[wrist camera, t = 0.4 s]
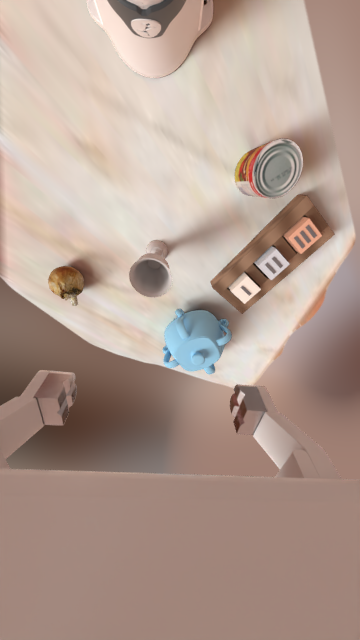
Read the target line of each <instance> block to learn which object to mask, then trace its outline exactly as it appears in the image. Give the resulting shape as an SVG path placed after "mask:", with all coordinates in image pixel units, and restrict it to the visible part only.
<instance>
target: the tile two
mask: <svg viewBox="0 0 360 640" xmlns="http://www.w3.org/2000/svg"><path fill="white" fill-rule="evenodd" d="M254 263H255V264H256V265H257V266H258V267H259V268H260V270H261V271H262V272H263V273H264V274H265V275H266V276H267V277H268V278H269V279H270V280H272V279H274V278H275V277H276V276H277V275H278V274H279V273H280V272H282V271H283V270H284V269H285V268H286V267H287V266H288V265H290V264H289V263H288V262H287V260H286V259H285V258H284V257H283V256H282V255H281V254H280V252H279V251H278V250H277V249H276V248H274V247H272V246H271V247H270V248H269V249H268V250H267V251H266V252H264V253H263V254H262V255H261V256H260V257H259V258H258V259H257V260H256V261H255V262H254Z"/></svg>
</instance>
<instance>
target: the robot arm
mask: <svg viewBox="0 0 360 640" xmlns="http://www.w3.org/2000/svg"><path fill="white" fill-rule="evenodd" d="M206 1H207V4H206V5H203V4H204V0H87V7H88V10H89V13H90V15H91V17H92V18H93V20H94V21H95V22H96V23H97V24H98V25H99V26H100V27H101V28H102V29H103V30H104V31H105V32H106V33H107V35H108V36H109V38H110V40H111V42H112V44H113V46H114V48H115V50H116V51H117V53H118V54H119V56H120V57H121V59H122V60H123V61H124V62H125V64H126V65H127V66H128V67H130V68H131V69H132V70H133V71H135V72H136V73H138V74H140V75H142V76H145V77H149V78H160V77H164V76H166V75H169V74H170V73H172V72H173V71H175V70H176V69H177V68H178V67H179V66H180V65H181V64H182V63H183V61H184V60H185V59H186V57H187V55H188V54H189V52H190V50H191V48H192V46H193V44H194V42H195V40H196V39H197V37H199V36H200V35H201V34H202V33H203V32H204V31H205V30H206V29H207V28H208V27H209V26H210V24H211V22H212V19H213V0H206ZM74 380H75V375H74V373H69V372H59V371H46V370H40V371H39V372H37V374H36V375H35V377H34V378H33V380H32V381H31V382H30V384H29V385H28V386H27V388H26V389H25V391H24V392H23V393H22V395H21V396H20V397H15V398H13V399H12V400H10V401H8V402H7V403H5V404H3V405H1V406H0V640H360V480H350V479H341V477H340V475H339V474H338V472H337V470H336V468H335V467H334V465H333V463H332V462H331V460H330V458H329V456H328V455H327V453H326V451H325V450H324V449H323V448H322V447H321V446H319V445H318V444H317V443H316V442H315V441H313V440H312V439H311V438H310V437H309V436H308V435H306V434H305V433H304V432H303V431H302V430H300V429H299V428H298V427H297V426H296V425H295V424H293V423H292V422H291V421H290V420H288V418H286V417H285V416H284V415H283V414H282V413H278V411H277V409H276V407H275V405H274V403H273V401H272V399H271V396H270V395H269V392H268V390H267V388H266V387H265V386H253V385H236V386H235V388H234V391H235V393H234V394H233V395H232V396H231V399H230V410H231V414H232V415H233V416H234V417H235V419H234V426H235V429H236V433H237V434H244V435H253V437H254V438H255V439H256V440H257V442H258V443H259V444H260V445H261V446H262V448H263V449H264V450H265V451H266V452H267V454H268V455H269V456H270V457H271V459H272V460H273V461H274V463H275V464H276V465H277V466H278V468H279V469H280V471H279V472H278V474H277V475H276V476H275V477H254V476H250V477H249V476H222V475H191V474H158V473H125V472H122V473H121V472H93V471H92V472H91V471H62V470H30V469H28V470H27V469H10V468H9V466H8V464H7V462H6V460H5V459H6V458H7V457H9V456H10V455H11V454H12V453H13V452H14V451H16V449H18V448H19V447H20V446H21V445H22V444H24V443H25V442H26V441H27V440H28V439H29V438H31V437H32V436H33V435H34V434H35V433H36V432H37V431H39V430H40V429H41V428H42V427H43V426H44V425H64V423H65V420H66V418H67V416H68V414H69V410H68V408H69V407H70V406H71V405H73V403H74V400H75V397H76V392H77V388H76V384H75V383H74Z"/></svg>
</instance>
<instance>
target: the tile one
mask: <svg viewBox="0 0 360 640" xmlns="http://www.w3.org/2000/svg"><path fill="white" fill-rule="evenodd" d="M229 289H230V291H231V292H232V293H233V294H234V295H235V296H236V297H237V298H239V299H240V300H241V301H242V302H243V303H244V304H245V303H246V302H247V301H249V300H250V299H251V298H252V297H253V296H254V295H255V294H257V293H258V292H259V291H260V290H261V289H260V288H259V286H258V285H257V284H256V283H255V282H254V281H253V280H252V279H251V278H250V277H249V276H248V275H247V274H246V273H245V272H243V273H242V274H241V275H240V276H239V277H238V278H237V279H236V280H235V281H234V282H233V283H232V284H231V285H230V286H229Z"/></svg>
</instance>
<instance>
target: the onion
mask: <svg viewBox="0 0 360 640" xmlns="http://www.w3.org/2000/svg"><path fill="white" fill-rule="evenodd" d="M48 283H49V287H50V289H51V291H52V292H53V293H55V294H56V295H58V296H60V297H61V298H62V299H64V298H66V300H67V299H69V298H70V300H71V302H72V305H73V306H76V305H77V304H78V302H77V295H79V294H80V293H81V292H82V291H83V287H84V279H83V276H82V275H81V273H80V272H79V271H78V270H76V269H75V268H73V267H68V266H63V267H58V268H56V269H54V270H53V271H52V272H51V274H50V276H49V281H48Z"/></svg>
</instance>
